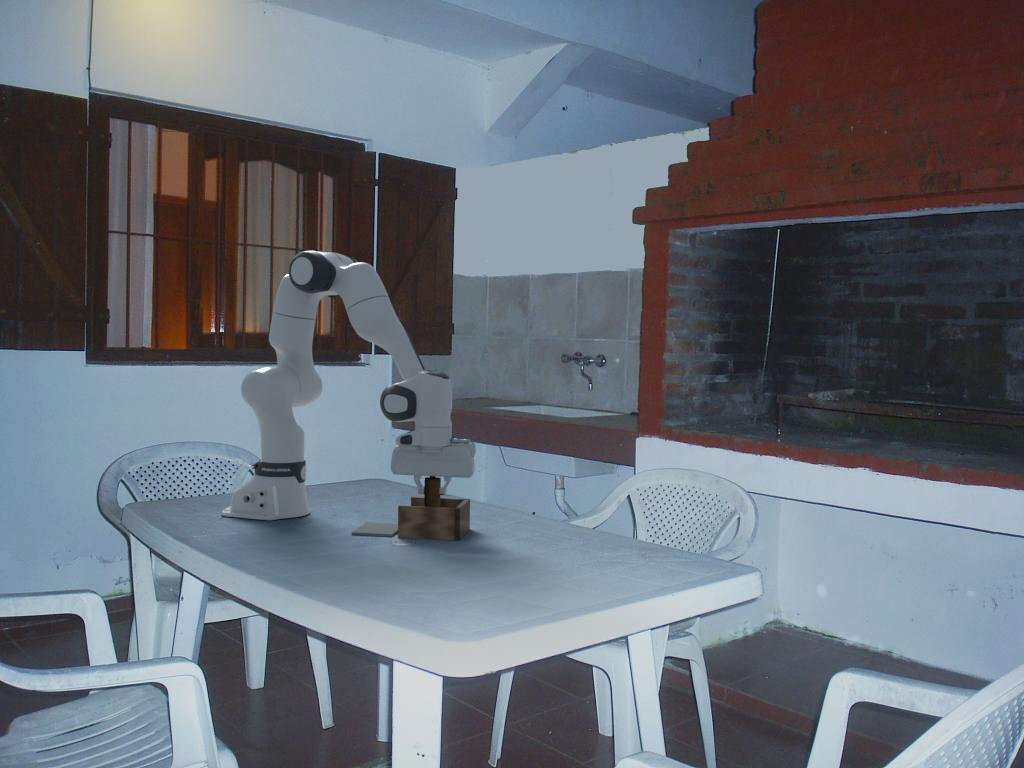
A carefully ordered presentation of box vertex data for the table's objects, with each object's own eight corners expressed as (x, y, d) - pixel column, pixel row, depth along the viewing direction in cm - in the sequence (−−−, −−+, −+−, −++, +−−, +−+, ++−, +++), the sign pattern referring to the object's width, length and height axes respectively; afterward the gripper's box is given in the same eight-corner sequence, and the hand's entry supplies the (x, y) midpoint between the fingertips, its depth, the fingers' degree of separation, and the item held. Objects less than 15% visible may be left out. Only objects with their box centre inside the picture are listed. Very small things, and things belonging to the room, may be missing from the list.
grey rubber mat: (351, 534, 211) (351, 532, 211) (366, 524, 223) (366, 522, 223) (392, 536, 209) (392, 534, 209) (405, 526, 221) (405, 523, 221)
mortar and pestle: (447, 521, 217) (448, 448, 216) (443, 527, 211) (444, 452, 210) (421, 520, 218) (422, 447, 217) (415, 525, 211) (416, 451, 210)
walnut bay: (397, 537, 209) (398, 506, 208) (411, 526, 222) (411, 496, 221) (459, 540, 207) (459, 508, 206) (469, 528, 220) (470, 499, 219)
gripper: (478, 437, 215) (476, 494, 216) (396, 434, 218) (395, 490, 218) (473, 440, 209) (472, 498, 209) (389, 437, 211) (388, 494, 212)
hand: (432, 494), depth 214 cm, fingers closed on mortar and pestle, 4 cm apart
